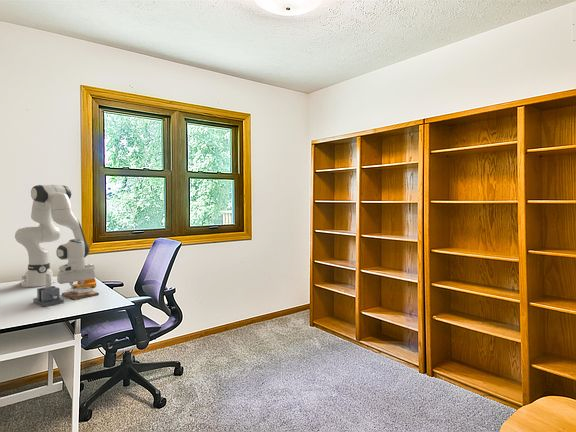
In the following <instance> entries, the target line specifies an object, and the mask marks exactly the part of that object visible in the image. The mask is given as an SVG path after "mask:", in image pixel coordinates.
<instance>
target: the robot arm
mask: <svg viewBox="0 0 576 432" xmlns="http://www.w3.org/2000/svg"><path fill="white" fill-rule="evenodd" d="M30 196H31V199H32V200H33V201H32V206H31V214H30V217H31V220H32V221H34V222H35V223H38V224H39V225H38V226H26V227H25V226H24V227H22V228H18V229H17V230H16V232H15V235H14V239H15V241H16V242H17V243H19V244H20V245H22V247H24V248H25V250H26V251H27V256H28V265H27V270H26V272H25V273H24V275H22V276H21V278H22V280H23V281H20V285H21V287H22V288H27V287H28V288H29V287H30V288H35V287H38V288H39V287H46V274H51V285H52V284H54V283H56V282H57V283H58V284H60V285H61V284H69V285H70V286H71V290H73V289H75V286H73V284H74V282H78V281H80V282H81V283H80V285H83V283H84V280H88V279H94V278H95V277H96V276H95V275H96V274H95V265H94V264H92V263H91V264H86V260H85V258H86V257H87V256H88V255H89V254H90V250H91V249H90V247H89V244H88V242H87V241H86V240H87V239H86V237H85V235H84V231H83V228H82V225H81V223H80V220H79V219H78V217H76V216H75V214H74V213H73V210H72V205H71V201H70V199H71V197H72V190H71V188H70V187H69V186H67V185H59V184H44V185H41V184H38V185H34V186H33V187H32V188H31V189H30ZM53 222H55V223H53ZM55 224H58V225H60V226H63V227H67V228H68V229H70V230H71V231H72V234H73V236H74V238H72V239H70V240H68V242H66V243H64V244H60V245H58V247H57V248H56V251H55V252H56V256H57V258H58V259H59V260H64V261H67V260H68V261H67V263H65V264H64V265H61V266H59V267H58V270H59V271H58V273H57V279H56V280H57V281H56V280H55V279H54V273H53V270H52V269H51V263H50V252H49V251H48V249H46V248H45V247H41V246H40V245H41V244H43V243H44V244H45V243H51V242H55V241H56V242H57V241H58V240H59V239H60V237H61V230H60V228H59V227H57V226H56V225H55Z"/></svg>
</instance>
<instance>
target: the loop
mask: <svg viewBox="0 0 576 432" xmlns="http://www.w3.org/2000/svg"><path fill="white" fill-rule="evenodd" d="M73 286H75V289H72V291H73V292H76V293H78V294H80V293H85V292H90V291H94V288H90V287H87V286H86V287H82V285H79V284H77V283H75V284H74V283H73Z"/></svg>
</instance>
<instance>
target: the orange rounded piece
mask: <svg viewBox="0 0 576 432" xmlns="http://www.w3.org/2000/svg"><path fill="white" fill-rule="evenodd" d="M76 282H77V283H76V284H79V285H80V283H81V282H80V281H76ZM86 286H87V287H90V288H92V287H97V281H96V278H95V277H94V279H88V280H84V283H83V285H82V287H86Z"/></svg>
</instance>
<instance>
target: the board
mask: <svg viewBox="0 0 576 432" xmlns="http://www.w3.org/2000/svg"><path fill="white" fill-rule="evenodd" d="M99 294H100V293H99V292H98V291H95V290H93V291H90V292H85V293H80V294H78V293H76V292H73V290H72V291H67V292H62V294H61V295H62V296H63V295H64V296H63V297H66V298H68V297H69V299H71V300H73V299H74V301H75V299H76V300H81V299H85V297H86V298H91V297H95V296H99ZM80 298H81V299H80Z"/></svg>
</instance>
